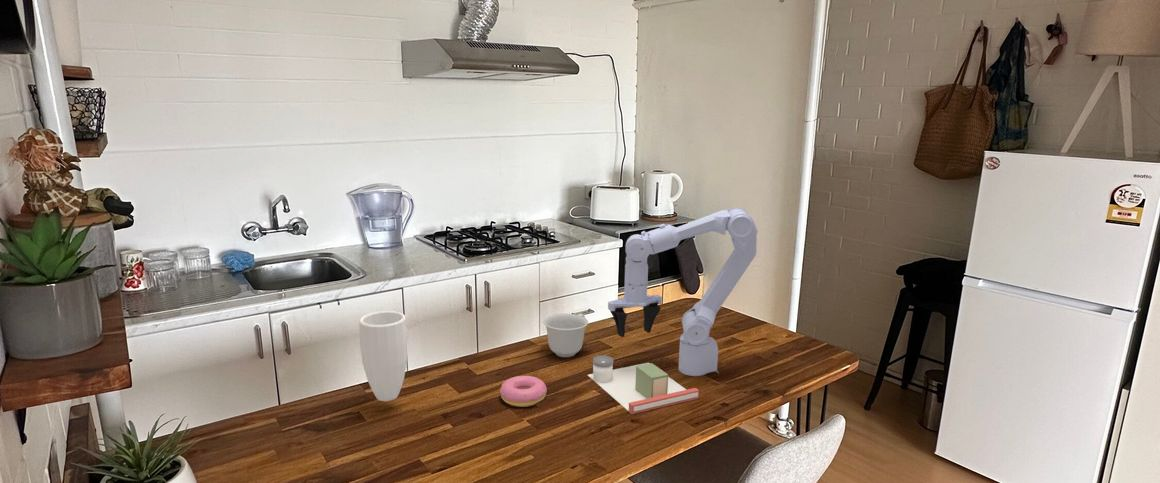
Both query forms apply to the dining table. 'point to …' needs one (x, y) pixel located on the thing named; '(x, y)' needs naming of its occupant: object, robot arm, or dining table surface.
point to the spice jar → (602, 369)
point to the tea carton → (651, 381)
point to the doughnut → (523, 391)
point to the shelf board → (635, 402)
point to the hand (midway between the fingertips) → (634, 333)
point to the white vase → (384, 352)
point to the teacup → (565, 333)
